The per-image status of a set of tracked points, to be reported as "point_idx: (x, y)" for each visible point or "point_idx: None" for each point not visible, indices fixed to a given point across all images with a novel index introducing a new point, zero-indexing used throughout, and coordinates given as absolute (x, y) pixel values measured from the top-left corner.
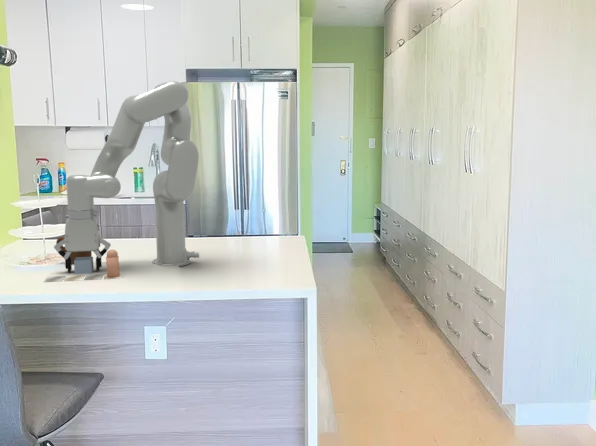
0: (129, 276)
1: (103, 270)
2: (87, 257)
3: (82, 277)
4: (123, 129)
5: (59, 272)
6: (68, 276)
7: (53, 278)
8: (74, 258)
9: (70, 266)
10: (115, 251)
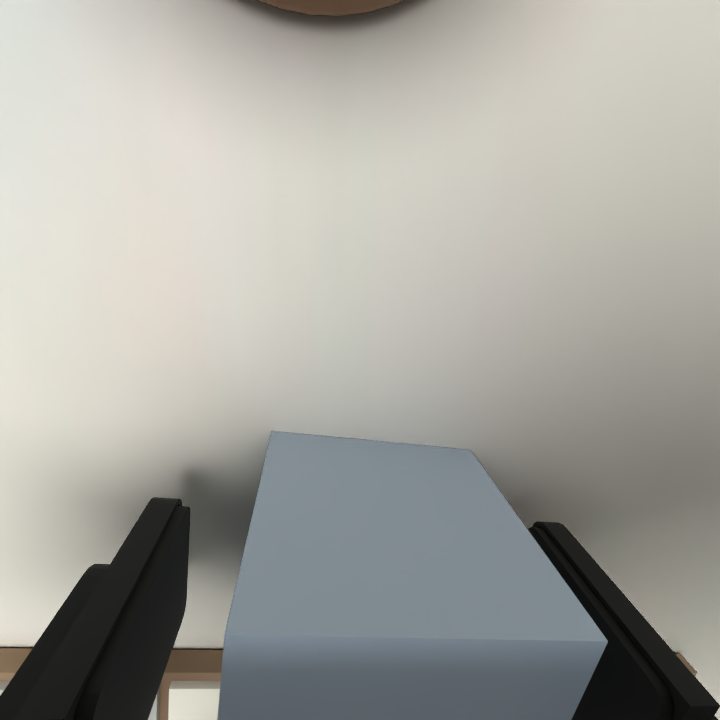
0: (706, 684)
1: (585, 421)
2: (486, 689)
3: None
4: None
5: (12, 355)
6: (188, 712)
7: None
8: None
9: (163, 637)
10: None
